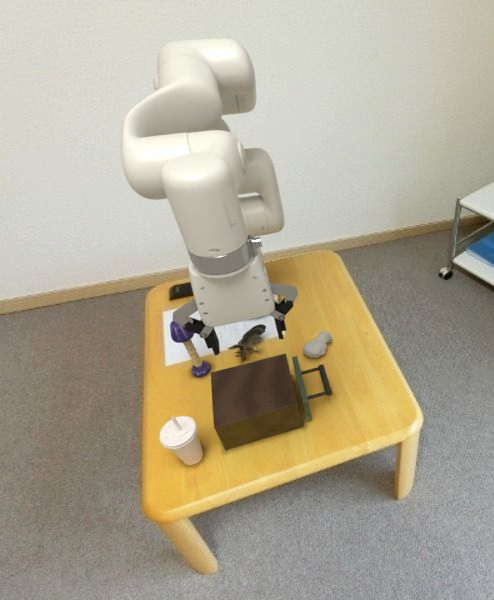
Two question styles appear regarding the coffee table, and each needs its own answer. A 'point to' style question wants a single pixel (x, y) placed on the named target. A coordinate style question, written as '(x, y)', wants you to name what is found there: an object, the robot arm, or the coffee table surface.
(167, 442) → the smoothie
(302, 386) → the drawer
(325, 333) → the pale two-lobed sculpture
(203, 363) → the toy lamp
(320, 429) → the coffee table surface
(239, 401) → the cabinet
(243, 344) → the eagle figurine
